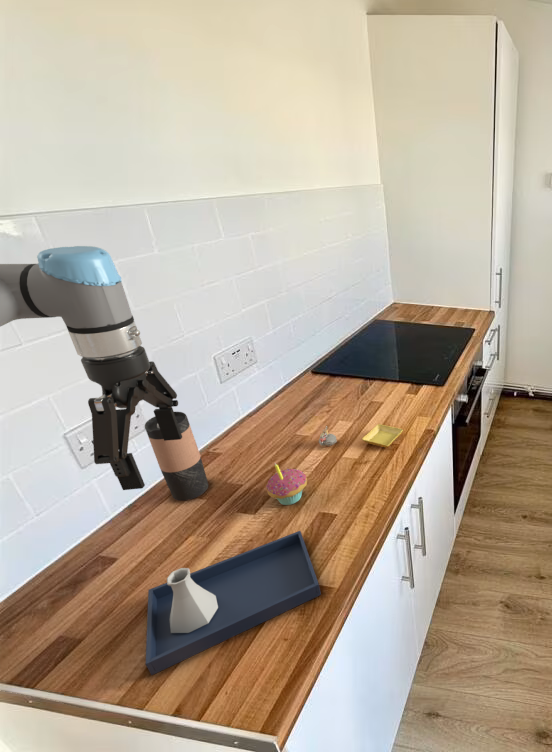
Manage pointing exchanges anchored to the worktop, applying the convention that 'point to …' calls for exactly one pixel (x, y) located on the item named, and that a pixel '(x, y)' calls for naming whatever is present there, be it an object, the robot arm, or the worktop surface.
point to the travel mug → (179, 459)
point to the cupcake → (286, 485)
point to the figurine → (327, 438)
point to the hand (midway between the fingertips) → (155, 461)
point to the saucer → (382, 435)
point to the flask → (189, 603)
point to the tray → (233, 599)
